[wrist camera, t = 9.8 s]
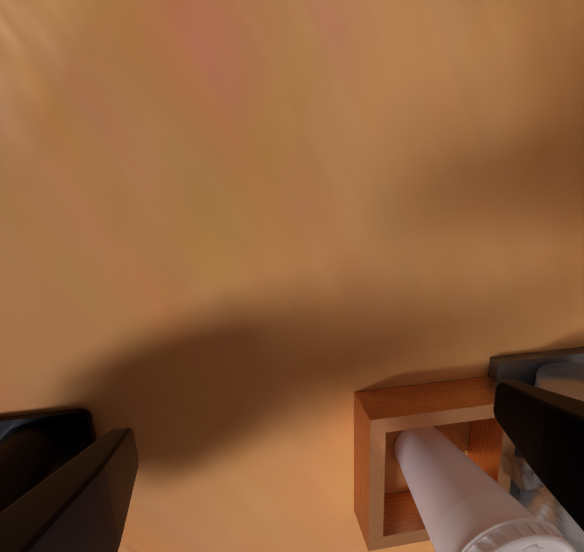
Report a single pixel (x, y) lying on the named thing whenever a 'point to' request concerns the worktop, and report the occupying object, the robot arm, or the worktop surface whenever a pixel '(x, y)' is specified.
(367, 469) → the motor unit
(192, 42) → the worktop surface
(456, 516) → the white cup with straw
